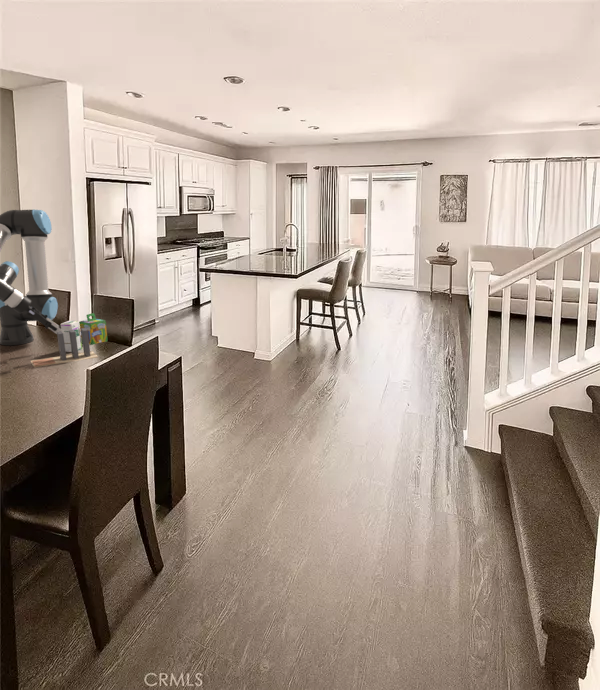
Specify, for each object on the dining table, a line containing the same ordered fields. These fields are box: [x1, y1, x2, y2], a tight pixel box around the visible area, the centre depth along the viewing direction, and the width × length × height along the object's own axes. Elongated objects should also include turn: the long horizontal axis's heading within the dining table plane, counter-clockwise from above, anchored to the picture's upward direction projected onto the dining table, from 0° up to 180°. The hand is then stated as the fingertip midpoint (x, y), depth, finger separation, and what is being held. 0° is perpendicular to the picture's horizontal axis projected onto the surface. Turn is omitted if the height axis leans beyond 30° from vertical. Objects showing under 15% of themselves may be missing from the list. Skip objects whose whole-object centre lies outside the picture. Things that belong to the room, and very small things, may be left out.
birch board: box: [30, 350, 99, 369], centre depth 233 cm, size 12×26×1 cm, turn 123°
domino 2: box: [69, 330, 79, 359], centre depth 233 cm, size 5×2×12 cm, turn 33°
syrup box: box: [59, 320, 83, 353], centre depth 244 cm, size 6×6×14 cm
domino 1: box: [56, 331, 67, 361], centre depth 231 cm, size 5×2×12 cm, turn 33°
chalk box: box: [78, 312, 108, 345], centre depth 260 cm, size 9×9×15 cm
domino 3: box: [80, 328, 91, 357], centre depth 236 cm, size 5×2×12 cm, turn 33°
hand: (59, 331), depth 240 cm, fingers open, 13 cm apart
